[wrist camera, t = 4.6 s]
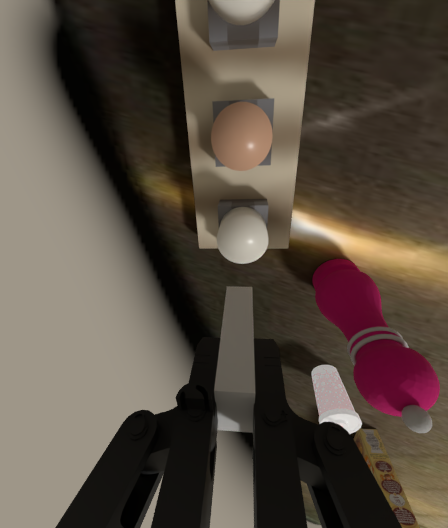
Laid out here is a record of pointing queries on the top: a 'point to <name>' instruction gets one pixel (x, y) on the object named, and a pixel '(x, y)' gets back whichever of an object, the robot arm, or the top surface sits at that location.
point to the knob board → (245, 90)
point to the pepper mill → (376, 346)
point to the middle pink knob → (241, 136)
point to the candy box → (385, 475)
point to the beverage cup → (333, 399)
